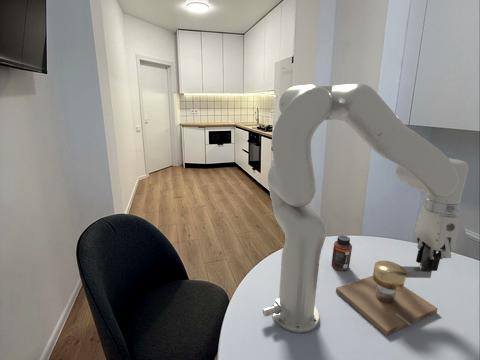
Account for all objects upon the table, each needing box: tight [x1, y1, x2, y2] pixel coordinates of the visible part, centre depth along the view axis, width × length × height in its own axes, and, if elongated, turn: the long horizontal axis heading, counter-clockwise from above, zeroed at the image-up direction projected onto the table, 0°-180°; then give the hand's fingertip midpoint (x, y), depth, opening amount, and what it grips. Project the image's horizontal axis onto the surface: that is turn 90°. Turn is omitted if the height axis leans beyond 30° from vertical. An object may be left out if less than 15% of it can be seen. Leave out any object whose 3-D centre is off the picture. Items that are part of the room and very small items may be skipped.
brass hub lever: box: [372, 244, 438, 291], centre depth 79 cm, size 16×10×11 cm, turn 90°
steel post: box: [375, 284, 396, 304], centre depth 81 cm, size 5×5×6 cm
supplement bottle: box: [331, 234, 353, 271], centre depth 98 cm, size 6×6×11 cm
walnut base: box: [335, 275, 438, 337], centre depth 82 cm, size 20×19×2 cm
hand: (426, 265), depth 79 cm, fingers closed on brass hub lever, 3 cm apart
